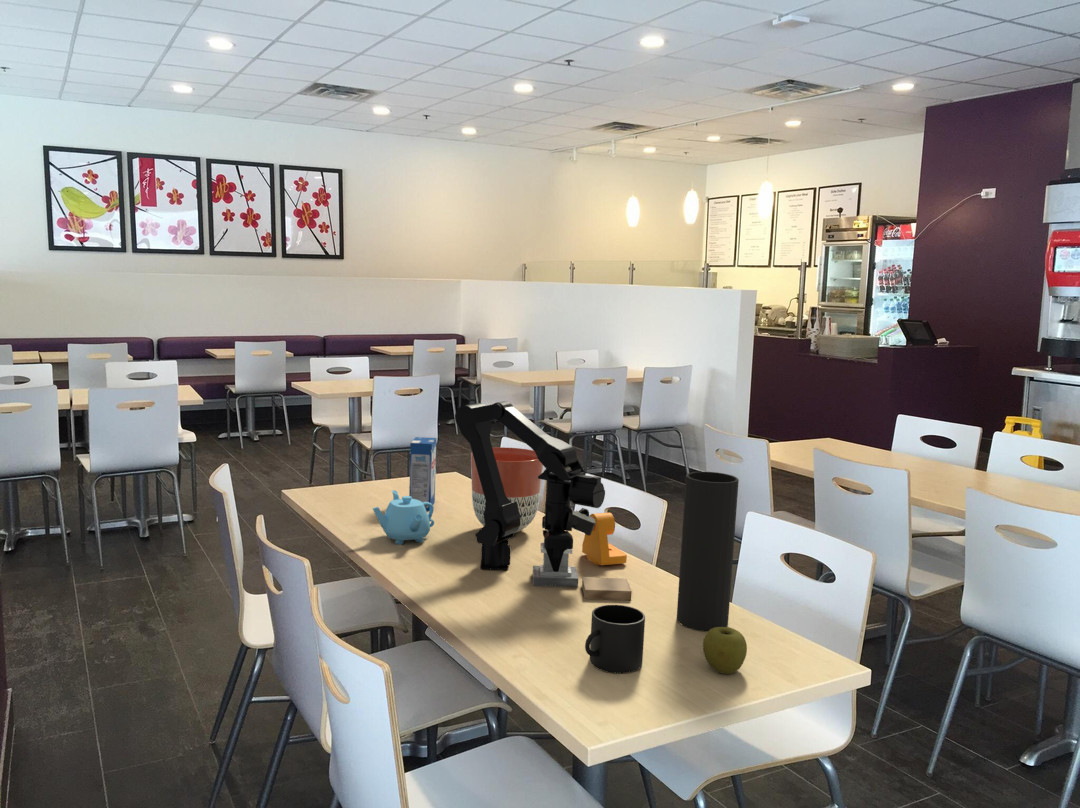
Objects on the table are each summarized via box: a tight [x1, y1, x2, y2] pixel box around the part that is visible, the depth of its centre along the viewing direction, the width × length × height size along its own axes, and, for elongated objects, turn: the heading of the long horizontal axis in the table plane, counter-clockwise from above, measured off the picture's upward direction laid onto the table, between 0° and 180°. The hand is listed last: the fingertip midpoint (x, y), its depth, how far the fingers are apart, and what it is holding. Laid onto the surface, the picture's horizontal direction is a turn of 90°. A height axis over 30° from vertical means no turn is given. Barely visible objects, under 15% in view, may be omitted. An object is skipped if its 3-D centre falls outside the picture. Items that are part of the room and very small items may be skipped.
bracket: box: [581, 512, 628, 566], centre depth 208 cm, size 11×7×12 cm, turn 22°
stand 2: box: [581, 576, 633, 601], centre depth 186 cm, size 10×8×2 cm
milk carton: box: [408, 436, 437, 512], centre depth 252 cm, size 10×6×20 cm, turn 179°
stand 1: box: [532, 565, 579, 588], centre depth 193 cm, size 10×8×2 cm
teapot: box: [372, 489, 435, 546], centre depth 219 cm, size 15×14×11 cm
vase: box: [676, 471, 740, 632], centre depth 170 cm, size 10×10×30 cm
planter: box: [470, 446, 544, 534], centre depth 229 cm, size 20×20×21 cm
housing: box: [539, 542, 573, 576], centre depth 192 cm, size 7×5×6 cm
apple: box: [702, 626, 748, 675], centre depth 150 cm, size 8×8×7 cm
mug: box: [584, 604, 646, 674], centre depth 150 cm, size 9×12×9 cm
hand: (555, 567), depth 192 cm, fingers closed on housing, 5 cm apart
